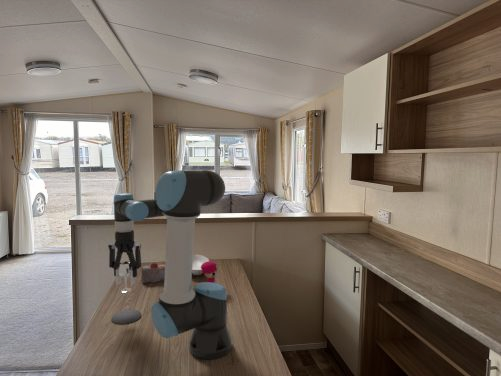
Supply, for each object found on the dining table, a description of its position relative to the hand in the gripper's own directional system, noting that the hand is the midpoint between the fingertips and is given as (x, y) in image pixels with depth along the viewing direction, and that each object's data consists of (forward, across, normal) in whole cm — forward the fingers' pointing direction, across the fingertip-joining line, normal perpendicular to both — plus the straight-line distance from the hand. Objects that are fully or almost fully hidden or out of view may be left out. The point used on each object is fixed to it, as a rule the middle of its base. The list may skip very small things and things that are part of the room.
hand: (125, 283), depth 142 cm
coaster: (+15, 0, 0) cm, 15 cm away
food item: (+15, +5, -43) cm, 46 cm away
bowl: (+15, -14, -61) cm, 64 cm away
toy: (+15, -28, -34) cm, 47 cm away
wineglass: (+3, 0, 0) cm, 3 cm away
